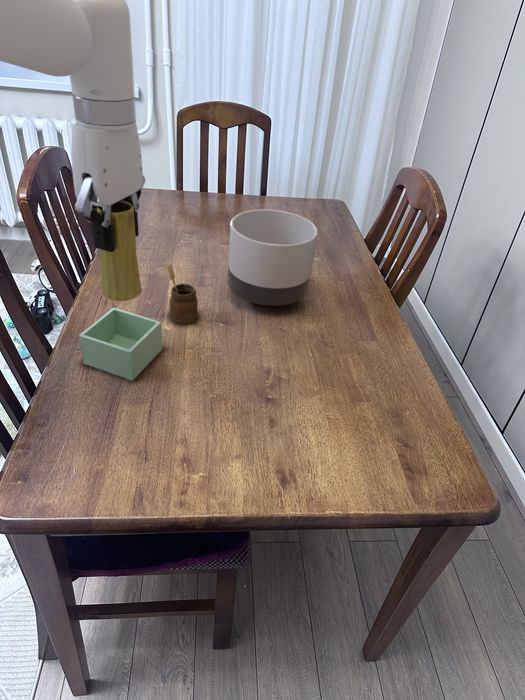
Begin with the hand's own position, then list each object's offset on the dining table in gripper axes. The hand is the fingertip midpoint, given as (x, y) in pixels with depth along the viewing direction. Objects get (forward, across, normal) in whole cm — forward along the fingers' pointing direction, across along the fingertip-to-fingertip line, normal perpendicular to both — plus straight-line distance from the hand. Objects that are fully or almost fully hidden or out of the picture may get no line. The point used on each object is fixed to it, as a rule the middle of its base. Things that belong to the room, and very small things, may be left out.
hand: (117, 240), depth 73 cm
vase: (+9, 0, 0) cm, 9 cm away
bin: (+27, -5, -5) cm, 28 cm away
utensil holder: (+27, -22, -1) cm, 35 cm away
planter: (+27, -41, +12) cm, 50 cm away
